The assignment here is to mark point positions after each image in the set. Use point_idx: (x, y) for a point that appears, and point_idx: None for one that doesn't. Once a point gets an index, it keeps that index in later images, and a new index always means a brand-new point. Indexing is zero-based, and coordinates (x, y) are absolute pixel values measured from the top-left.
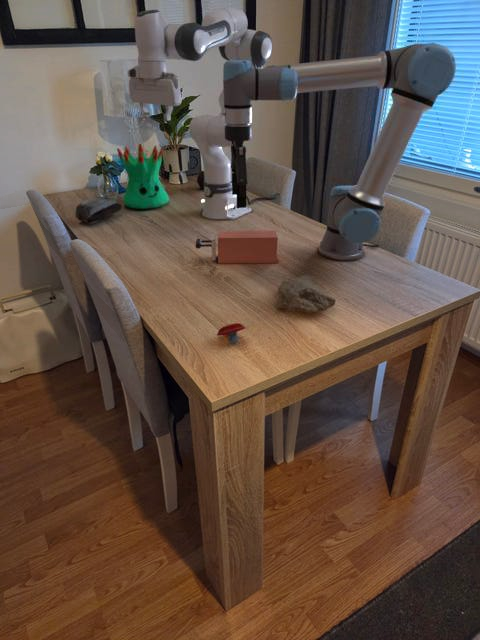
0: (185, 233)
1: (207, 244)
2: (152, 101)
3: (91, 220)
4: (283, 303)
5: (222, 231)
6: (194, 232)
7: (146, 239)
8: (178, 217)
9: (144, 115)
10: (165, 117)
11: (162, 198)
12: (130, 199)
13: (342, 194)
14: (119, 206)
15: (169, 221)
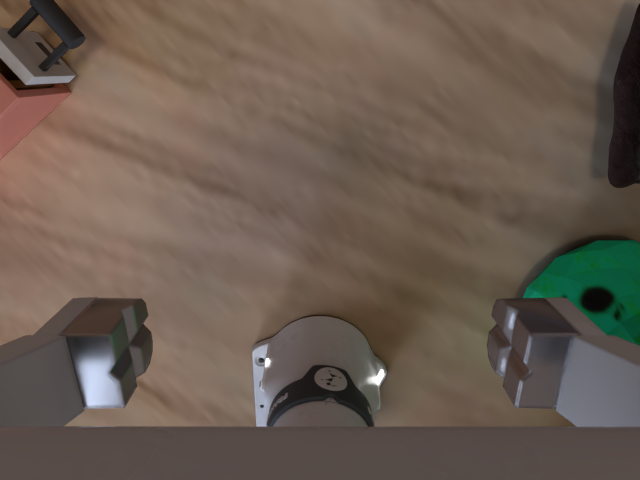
0: (290, 178)
1: (19, 26)
2: (279, 465)
3: (637, 11)
4: None
5: (2, 103)
6: (273, 202)
7: (360, 55)
8: (409, 274)
9: (554, 309)
10: (89, 312)
11: None
12: (626, 255)
13: None
14: (616, 174)
15: (410, 230)
